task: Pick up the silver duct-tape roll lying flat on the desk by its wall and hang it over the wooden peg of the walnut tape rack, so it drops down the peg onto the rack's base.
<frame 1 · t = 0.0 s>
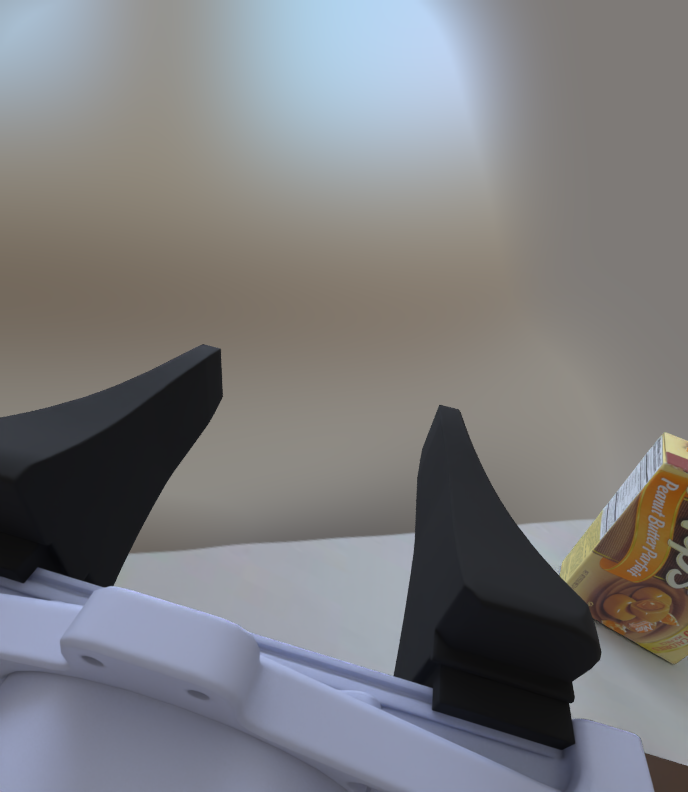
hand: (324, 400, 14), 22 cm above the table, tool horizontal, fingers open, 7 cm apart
candy box: (611, 612, 34), on the table
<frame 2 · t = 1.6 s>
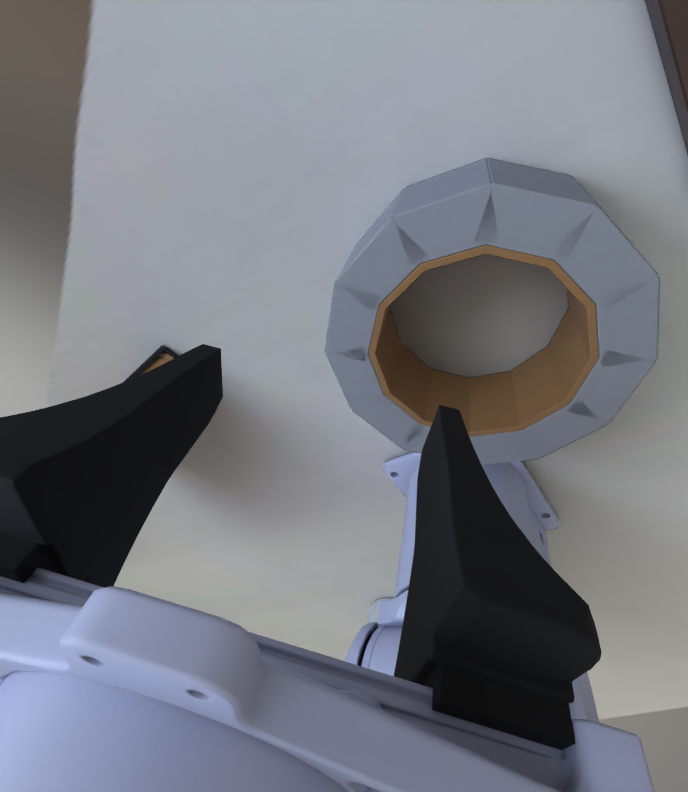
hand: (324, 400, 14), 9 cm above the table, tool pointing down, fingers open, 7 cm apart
ammunition clip: (145, 394, 30), on the table
tape roll: (474, 307, 21), on the table
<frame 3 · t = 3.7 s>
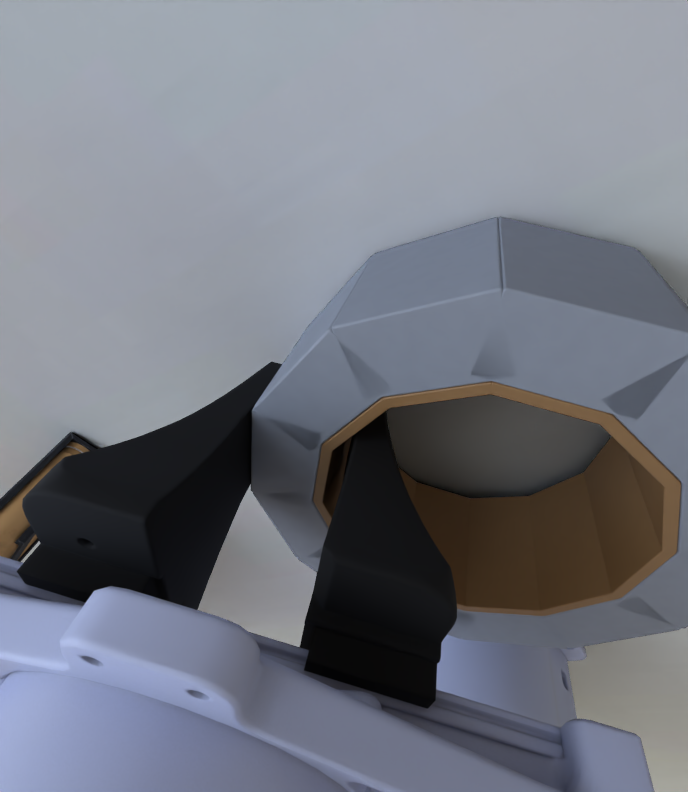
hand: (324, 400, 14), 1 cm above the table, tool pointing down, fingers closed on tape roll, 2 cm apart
ammunition clip: (63, 481, 24), on the table
tape roll: (478, 416, 14), on the table, touching gripper
when the fingers open (3 cm above the table, at t = 8.6 s): tape roll stays where it is, resting on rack.
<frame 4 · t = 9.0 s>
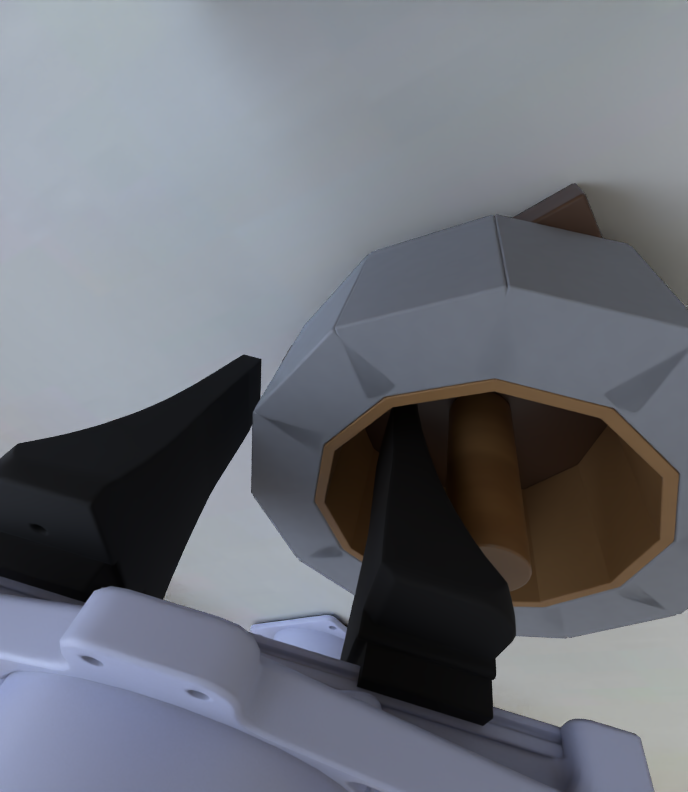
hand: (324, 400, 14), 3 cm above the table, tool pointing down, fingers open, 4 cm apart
tape roll: (474, 412, 15), point 1 cm above the table, touching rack
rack: (478, 392, 15), on the table
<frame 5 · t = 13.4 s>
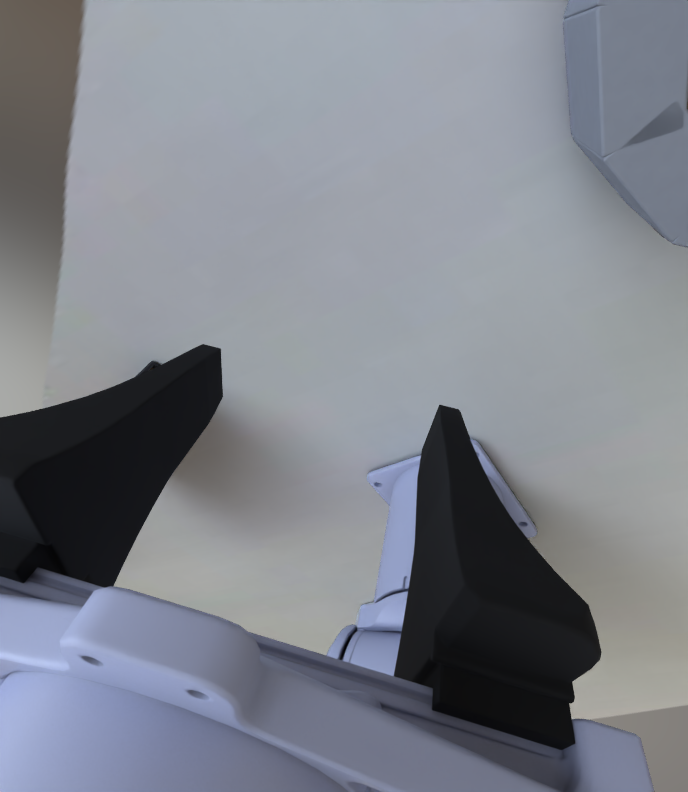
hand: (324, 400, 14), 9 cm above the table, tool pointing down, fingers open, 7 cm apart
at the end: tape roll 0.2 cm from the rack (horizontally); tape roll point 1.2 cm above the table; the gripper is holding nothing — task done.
